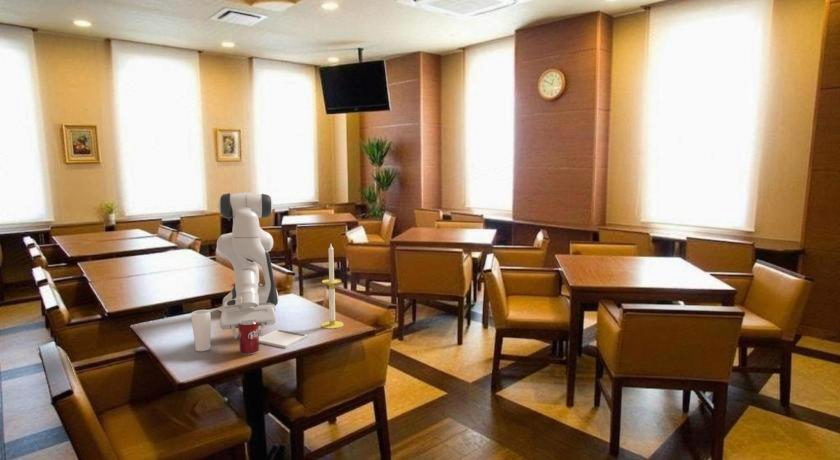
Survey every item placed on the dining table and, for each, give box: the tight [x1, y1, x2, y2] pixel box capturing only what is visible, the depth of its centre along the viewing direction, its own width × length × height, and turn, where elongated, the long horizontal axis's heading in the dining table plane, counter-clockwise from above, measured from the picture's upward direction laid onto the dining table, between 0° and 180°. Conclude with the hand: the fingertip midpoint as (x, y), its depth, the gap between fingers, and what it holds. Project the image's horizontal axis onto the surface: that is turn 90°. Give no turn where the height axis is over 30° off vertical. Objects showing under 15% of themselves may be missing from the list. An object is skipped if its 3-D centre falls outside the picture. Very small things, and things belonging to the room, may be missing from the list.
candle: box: [320, 243, 345, 330], centre depth 216 cm, size 10×10×38 cm
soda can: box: [237, 319, 260, 356], centre depth 186 cm, size 7×7×12 cm
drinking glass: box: [191, 309, 212, 352], centre depth 188 cm, size 7×7×15 cm
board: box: [259, 328, 309, 349], centre depth 200 cm, size 16×14×1 cm
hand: (248, 336), depth 185 cm, fingers closed on soda can, 7 cm apart
